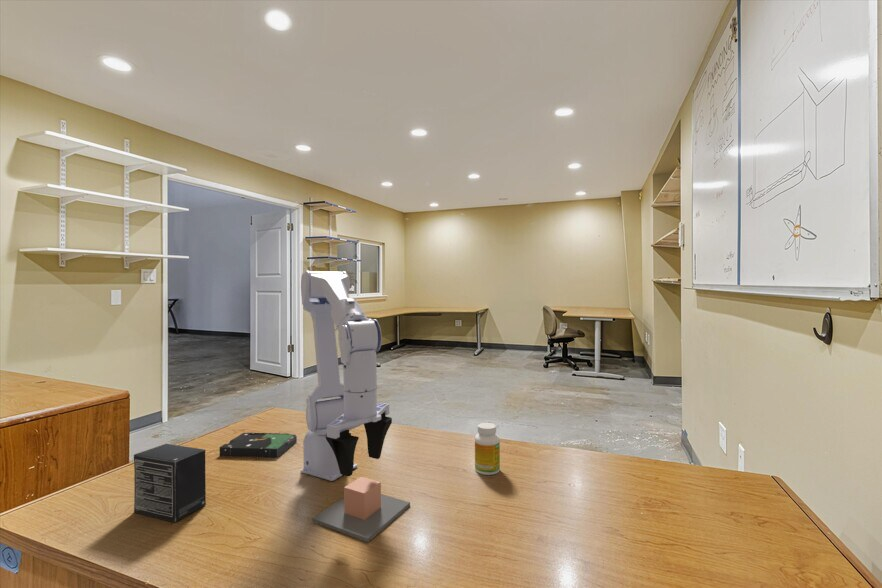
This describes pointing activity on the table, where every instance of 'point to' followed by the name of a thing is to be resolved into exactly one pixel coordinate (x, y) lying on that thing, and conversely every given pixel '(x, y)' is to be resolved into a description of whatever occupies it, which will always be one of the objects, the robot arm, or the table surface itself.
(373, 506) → the cube
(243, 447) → the disk drive
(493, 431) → the supplement bottle
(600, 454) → the table surface
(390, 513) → the mat
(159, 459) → the small box
